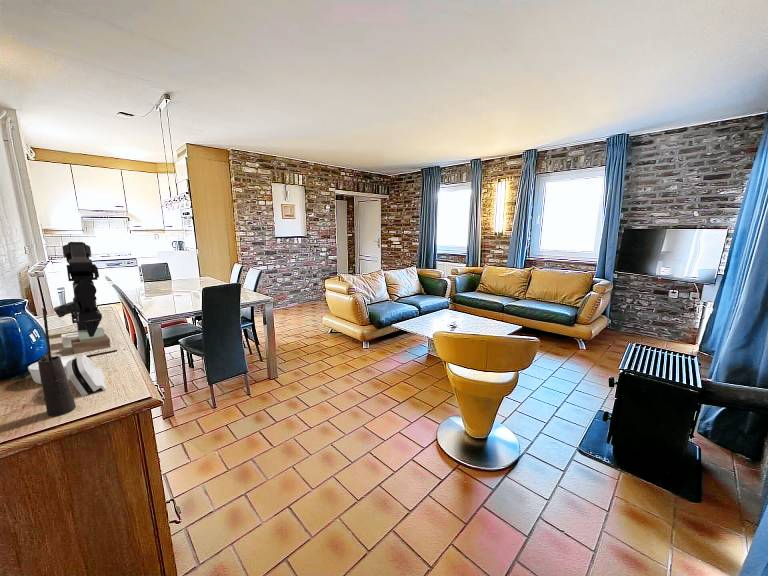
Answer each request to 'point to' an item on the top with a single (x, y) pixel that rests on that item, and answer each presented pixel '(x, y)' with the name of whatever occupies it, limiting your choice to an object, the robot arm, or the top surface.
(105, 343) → the channel mount plate
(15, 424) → the top surface
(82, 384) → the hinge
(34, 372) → the ramekin
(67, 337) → the holder
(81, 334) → the pale grey block
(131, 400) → the top surface
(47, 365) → the butter churn
